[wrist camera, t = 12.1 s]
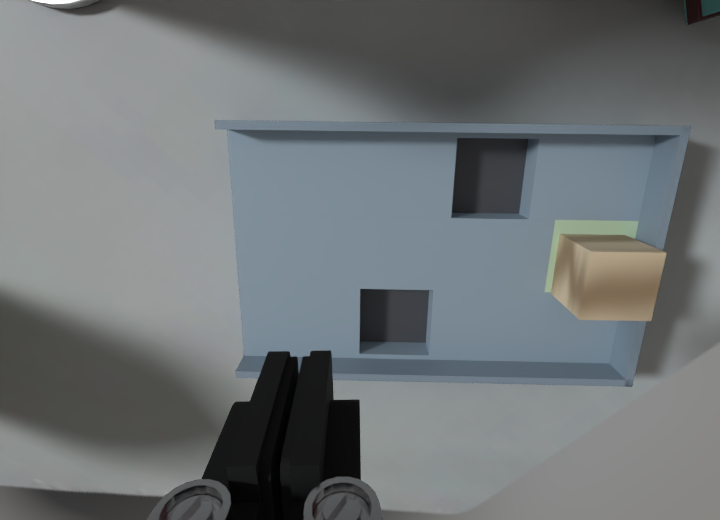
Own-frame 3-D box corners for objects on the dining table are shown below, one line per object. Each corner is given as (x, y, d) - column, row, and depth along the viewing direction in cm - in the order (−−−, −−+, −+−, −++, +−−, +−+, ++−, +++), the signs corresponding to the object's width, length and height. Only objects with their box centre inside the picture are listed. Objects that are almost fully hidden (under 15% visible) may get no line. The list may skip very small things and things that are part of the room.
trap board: (236, 121, 34) (214, 120, 29) (645, 126, 33) (691, 126, 29) (252, 347, 40) (236, 377, 35) (600, 355, 39) (632, 386, 35)
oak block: (559, 234, 34) (591, 251, 29) (624, 234, 34) (666, 252, 29) (550, 293, 35) (579, 319, 30) (612, 294, 35) (651, 321, 30)
